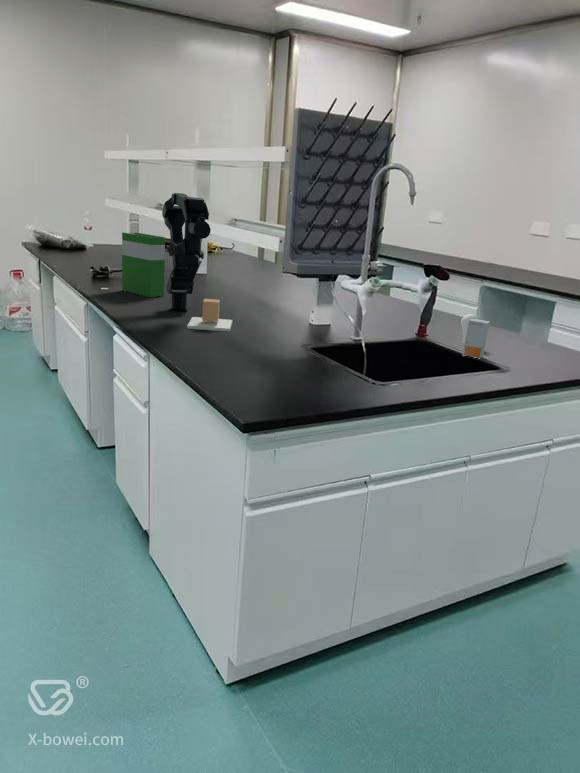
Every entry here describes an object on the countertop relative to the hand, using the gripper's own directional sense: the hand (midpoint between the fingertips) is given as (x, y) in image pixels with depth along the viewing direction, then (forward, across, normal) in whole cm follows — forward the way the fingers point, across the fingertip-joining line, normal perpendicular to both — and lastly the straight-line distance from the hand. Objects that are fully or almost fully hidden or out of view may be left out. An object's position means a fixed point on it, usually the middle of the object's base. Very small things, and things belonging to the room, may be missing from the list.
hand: (191, 281), depth 207 cm
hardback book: (+13, -42, -25) cm, 51 cm away
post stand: (+13, +9, +8) cm, 18 cm away
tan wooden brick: (+11, +9, +8) cm, 16 cm away
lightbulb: (+13, +10, +97) cm, 98 cm away
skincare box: (+13, +26, +94) cm, 98 cm away
